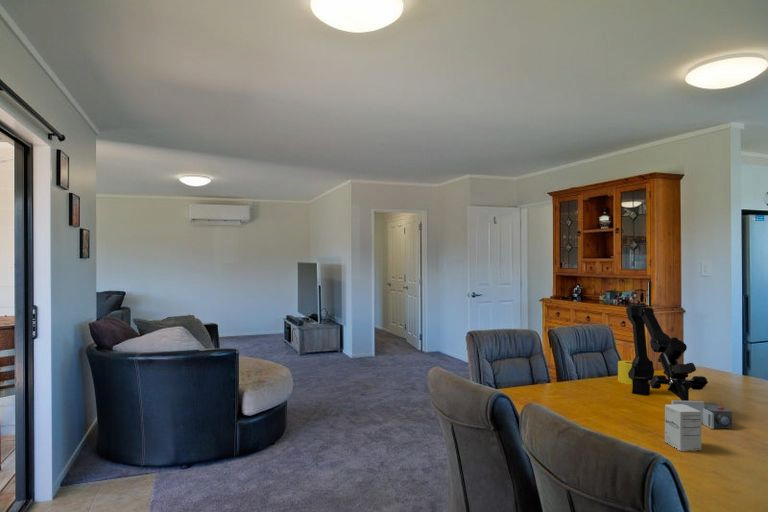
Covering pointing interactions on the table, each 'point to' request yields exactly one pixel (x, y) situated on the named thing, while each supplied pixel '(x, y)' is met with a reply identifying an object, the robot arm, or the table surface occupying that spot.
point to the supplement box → (683, 427)
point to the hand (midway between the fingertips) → (687, 403)
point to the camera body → (720, 415)
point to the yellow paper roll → (624, 371)
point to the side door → (706, 415)
